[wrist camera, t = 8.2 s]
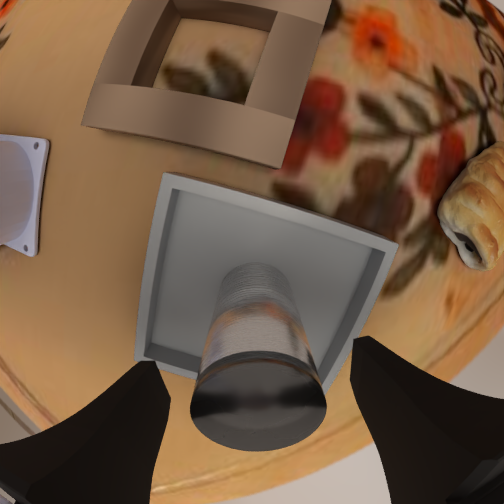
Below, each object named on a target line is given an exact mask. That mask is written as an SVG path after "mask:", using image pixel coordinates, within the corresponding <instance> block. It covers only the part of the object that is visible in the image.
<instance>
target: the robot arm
mask: <svg viewBox="0 0 504 504" xmlns="http://www.w3.org/2000/svg"><path fill="white" fill-rule="evenodd" d="M38 143H39V147H38V148H37V145H38ZM48 150H49V141H48V140H47V139H43V138H34V137H25V136H15V135H4V134H0V245H2V244H4V245H7V246H9V247H11V248H13V249H15V250H17V251H19V252H21V253H23V254H25V255H28V256H30V257H33V256H35V255H37V252H38V226H39V212H40V202H41V193H42V185H43V178H44V172H45V166H46V160H47V155H48ZM27 247H28V249H27ZM350 382H351V386H352V389H353V392H354V396H355V399H356V402H357V404H358V407H359V409H360V411H361V413H362V416H363V418H364V420H365V422H366V424H367V427H368V429H369V431H370V433H371V435H372V438H373V440H374V442H375V444H376V447H377V449H378V452H379V455H380V458H381V462H382V465H383V469H384V472H385V476H386V480H387V484H388V489H389V493H390V498H391V503H392V504H504V399H500V398H493V397H489V396H485V395H481V394H477V393H474V392H471V391H468V390H465V389H462V388H459V387H456V386H454V385H452V384H449V383H447V382H445V381H442V380H440V379H438V378H436V377H434V376H432V375H430V374H428V373H427V372H425V371H423V370H421V369H419V368H418V367H416V366H414V365H413V364H411V363H409V362H408V361H406V360H405V359H403V358H401V357H400V356H398V355H397V354H395V353H394V352H392V351H391V350H389V349H388V348H387V347H385V346H384V345H382V344H381V343H379V342H378V341H376V340H375V339H373V338H372V337H370V336H364V337H360V338H355V339H353V349H352V362H351V373H350ZM170 402H171V397H170V395H169V393H168V391H167V388H166V386H165V384H164V381H163V379H162V377H161V374H160V372H159V369H158V367H157V364H156V362H155V361H140V362H138V363H137V364H136V365H135V366H133V367H132V368H131V369H130V370H129V371H127V372H126V373H125V374H124V375H123V376H122V377H121V378H120V379H118V380H117V381H116V382H115V383H114V384H113V385H111V386H110V387H109V388H108V389H107V390H106V391H105V392H103V393H102V394H101V395H100V396H98V397H97V398H96V399H94V400H93V401H92V402H91V403H89V404H88V405H87V406H86V407H84V408H83V409H81V410H80V411H78V412H77V413H75V414H74V415H72V416H71V417H69V418H67V419H66V420H64V421H62V422H61V423H59V424H57V425H55V426H53V427H51V428H49V429H47V430H45V431H42V432H41V433H38V434H35V435H33V436H30V437H27V438H24V439H21V440H18V441H14V442H10V443H5V444H0V488H2V489H3V490H4V491H5V492H6V493H7V494H9V495H10V496H11V497H12V498H14V499H15V500H16V501H15V503H14V504H149V502H150V491H151V483H152V476H153V471H154V466H155V463H156V459H157V456H158V452H159V449H160V446H161V442H162V439H163V435H164V432H165V429H166V425H167V421H168V416H169V409H170ZM0 504H12V503H11V502H10V501H8V500H7V499H6V498H4V497H3V496H2V495H0Z"/></svg>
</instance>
